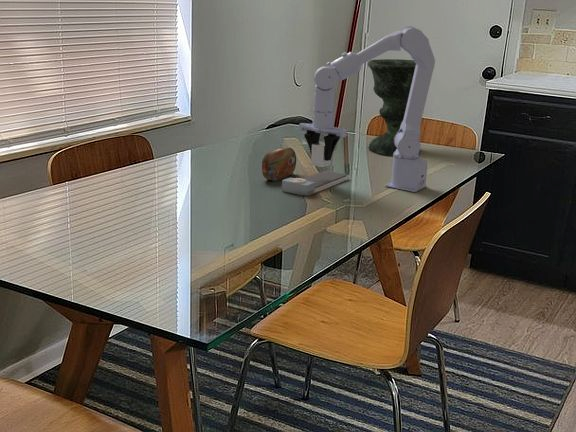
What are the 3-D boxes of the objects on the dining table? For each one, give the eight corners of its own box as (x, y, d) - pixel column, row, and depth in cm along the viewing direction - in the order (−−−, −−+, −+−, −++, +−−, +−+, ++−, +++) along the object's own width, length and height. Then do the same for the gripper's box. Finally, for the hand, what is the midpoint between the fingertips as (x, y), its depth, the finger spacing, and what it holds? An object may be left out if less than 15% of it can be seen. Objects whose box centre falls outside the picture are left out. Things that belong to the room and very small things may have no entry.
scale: (348, 179, 219) (349, 167, 218) (306, 196, 200) (306, 183, 199) (325, 174, 223) (325, 163, 222) (281, 191, 204) (281, 178, 203)
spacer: (330, 164, 212) (331, 143, 210) (323, 167, 209) (324, 146, 207) (318, 162, 214) (319, 141, 212) (311, 164, 211) (311, 144, 209)
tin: (268, 183, 212) (269, 154, 209) (259, 181, 213) (260, 153, 211) (296, 173, 224) (297, 145, 221) (287, 171, 225) (288, 144, 223)
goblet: (350, 151, 255) (355, 61, 246) (381, 140, 273) (387, 57, 263) (408, 161, 243) (416, 68, 234) (437, 150, 261) (445, 63, 252)
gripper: (293, 109, 207) (291, 157, 212) (338, 116, 200) (336, 165, 204) (307, 106, 213) (305, 153, 217) (351, 112, 205) (348, 161, 210)
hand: (321, 158), depth 211 cm, fingers closed on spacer, 4 cm apart
